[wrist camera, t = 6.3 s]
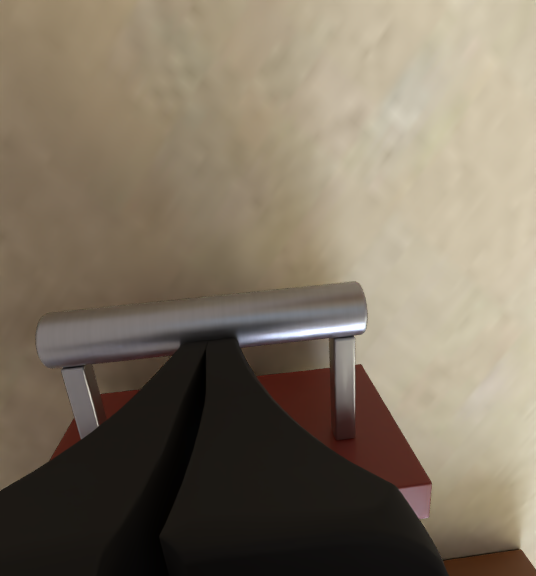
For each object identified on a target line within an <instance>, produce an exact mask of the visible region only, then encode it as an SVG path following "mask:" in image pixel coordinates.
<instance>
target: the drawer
mask: <svg viewBox="0 0 536 576" xmlns="http://www.w3.org/2000/svg"><path fill="white" fill-rule="evenodd" d="M367 320H368V313H367V303H366V298H365V295H364V292H363V289H362V287H361V285H360V284H359V283H358V282H344V283H335V284H325V285H315V286H305V287H296V288H286V289H276V290H266V291H257V292H247V293H237V294H228V295H218V296H208V297H198V298H189V299H179V300H169V301H159V302H150V303H140V304H130V305H120V306H111V307H101V308H91V309H81V310H72V311H62V312H52V313H47V314H45V315H44V316H42V317H41V319H40V320H39V322H38V325H37V329H36V338H35V340H36V349H37V353H38V356H39V358H40V360H41V362H42V363H43V365H45V366H46V367H48V368H52V369H53V368H62V367H63V368H62V370H61V373H62V377H63V380H64V383H65V387H66V390H67V394H68V397H69V400H70V404H71V407H72V411H73V414H74V419H73V421H72V422H71V424H70V426H69V427H68V429H67V431H66V433H65V434H64V436H63V438H62V440H61V441H60V443H59V445H58V447H57V448H56V450H55V452H54V454H53V455H52V457H51V459H50V460H52V459H53V458H55V457H56V456H58V455H59V454H61V453H62V452H64V451H65V450H66V449H68V448H69V447H71V446H72V445H74V444H75V443H77V442H78V441H80V440H81V439H83V438H84V437H85V436H87V435H88V434H89V433H91V432H92V431H93V430H95V429H96V428H97V427H98V426H100V425H101V424H102V423H104V422H105V421H106V420H107V419H109V418H110V417H111V416H112V415H113V414H115V413H116V412H117V411H118V410H119V409H120V408H122V407H123V406H124V405H125V404H126V403H127V402H128V401H129V400H130V399H131V398H132V397H133V396H134V395H135V394H136V393H137V392H138V391H139V390H131V391H123V392H114V393H105V394H100V392H99V388H98V384H97V380H96V376H95V372H94V369H93V365H92V364H98V363H107V362H117V361H126V360H135V359H144V358H153V357H162V356H171V355H173V354H174V353H175V352H176V351H177V350H178V349H179V348H180V346H181V345H182V344H183V343H188V342H199V341H208V340H217V339H225V338H235V339H237V340H238V341H239V345H240V348H243V347H252V346H261V345H270V344H280V343H289V342H298V341H307V340H316V339H325V338H329V358H330V368H323V369H314V370H306V371H297V372H288V373H279V374H271V375H262V376H256V377H257V378H258V380H259V381H260V382H261V384H262V385H263V386H264V388H265V389H266V390H267V391H268V393H269V394H270V395H271V396H272V398H273V399H274V400H275V401H276V402H277V403H278V404H279V405H280V406H281V407H282V408H283V409H284V410H285V411H286V412H287V413H288V415H290V416H291V417H292V418H293V419H294V420H295V421H296V422H297V423H298V424H299V425H300V426H302V427H303V428H304V429H305V430H306V431H308V432H309V433H310V434H312V435H313V436H314V437H316V438H317V439H318V440H319V441H321V442H322V443H323V444H325V445H326V446H327V447H329V448H330V449H331V450H333V451H335V452H336V453H338V454H339V455H341V456H342V457H344V458H345V459H347V460H349V461H350V462H352V463H354V464H356V465H358V466H360V467H362V468H364V469H365V470H367V471H369V472H371V473H373V474H375V475H377V476H379V477H381V478H382V479H384V480H386V481H388V482H390V483H392V484H394V485H395V486H396V487H397V488H398V489H399V490H400V492H401V493H402V494H403V496H404V497H405V499H406V500H407V502H408V503H409V505H410V506H411V508H412V509H413V510H414V512H415V513H416V515H417V517H418V518H419V519H423V518H428V517H429V513H430V501H431V489H432V482H431V481H430V479H429V477H428V476H427V474H426V472H425V471H424V469H423V467H422V466H421V464H420V462H419V460H418V459H417V457H416V455H415V454H414V452H413V450H412V449H411V447H410V445H409V444H408V442H407V440H406V439H405V437H404V435H403V434H402V432H401V430H400V429H399V427H398V425H397V424H396V422H395V420H394V419H393V417H392V415H391V413H390V412H389V410H388V408H387V407H386V405H385V403H384V402H383V400H382V398H381V397H380V395H379V393H378V392H377V390H376V388H375V387H374V385H373V383H372V382H371V380H370V378H369V377H368V375H367V373H366V372H365V370H364V368H363V367H362V365H361V364H358V365H355V337H354V335H361V334H363V333H364V332H365V331H366V327H367ZM140 390H141V389H140Z"/></svg>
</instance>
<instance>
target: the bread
mask: <svg viewBox="0 0 536 576" xmlns="http://www.w3.org/2000/svg"><path fill="white" fill-rule="evenodd" d="M443 562H444V565H445V568H446V570H447V572H448V574H449V576H536V569H535V568H534V566H533V565H532V564H531V562H530V561H529V559H528V558H527V557H526V555H525V554H524V553H523V551H522V550H521V549H520V550H513V551H506V552H499V553H492V554H485V555H478V556H471V557H464V558H458V559H451V560H444V561H443Z"/></svg>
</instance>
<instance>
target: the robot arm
mask: <svg viewBox="0 0 536 576" xmlns="http://www.w3.org/2000/svg"><path fill="white" fill-rule="evenodd" d="M0 576H449V574H448V572H447V570H446V568H445V565H444V562H443V560H442V558H441V556H440V554H439V552H438V550H437V548H436V546H435V544H434V543H433V541H432V539H431V537H430V536H429V534H428V532H427V531H426V529H425V528H424V526H423V524H422V523H421V521H420V520H419V518H418V517H417V515H416V513H415V512H414V510H413V509H412V508H411V506H410V505H409V503H408V502H407V500H406V499H405V497H404V496H403V494H402V493H401V492H400V490H399V489H398V488H397V487H396V486H395V485H394V484H392V483H390V482H388V481H386V480H384V479H382V478H381V477H379V476H377V475H375V474H373V473H371V472H369V471H367V470H365V469H364V468H362V467H360V466H358V465H356V464H354V463H352V462H350V461H349V460H347V459H345V458H344V457H342V456H341V455H339V454H338V453H336V452H335V451H333V450H331V449H330V448H329V447H327V446H326V445H325V444H323V443H322V442H321V441H319V440H318V439H317V438H316V437H314V436H313V435H312V434H310V433H309V432H308V431H306V430H305V429H304V428H303V427H302V426H300V425H299V424H298V423H297V422H296V421H295V420H294V419H293V418H292V417H291V416H290V415H288V413H287V412H286V411H285V410H284V409H283V408H282V407H281V406H280V405H279V404H278V403H277V402H276V401H275V400H274V399H273V398H272V396H271V395H270V394H269V393H268V391H267V390H266V389H265V388H264V386H263V385H262V384H261V382H260V381H259V380H258V378H257V377H256V375H255V374H254V372H253V371H252V369H251V367H250V366H249V364H248V363H247V361H246V359H245V357H244V355H243V353H242V351H241V348H240V345H239V341H238V340H237V339H235V338H225V339H217V340H208V341H199V342H188V343H183V344H182V345H181V346H180V348H179V349H178V350H177V351H176V352H175V353H174V354H173V356H172V357H171V358H170V359H169V360H168V361H167V362H166V363H165V365H164V366H163V367H162V368H161V369H160V370H159V371H158V372H157V373H156V374H155V376H154V377H153V378H152V379H151V380H150V381H149V382H148V383H147V384H146V385H145V386H144V387H143V388H142V389H141V390H139V391H138V392H137V393H136V394H135V395H134V396H133V397H132V398H131V399H130V400H129V401H128V402H127V403H126V404H125V405H124V406H123V407H122V408H120V409H119V410H118V411H117V412H116V413H115V414H113V415H112V416H111V417H110V418H109V419H107V420H106V421H105V422H104V423H102V424H101V425H100V426H98V427H97V428H96V429H95V430H93V431H92V432H91V433H89V434H88V435H87V436H85V437H84V438H83V439H81V440H80V441H78V442H77V443H75V444H74V445H72V446H71V447H69V448H68V449H66V450H65V451H64V452H62V453H61V454H59V455H58V456H56V457H55V458H53V459H52V460H50V461H49V462H47V463H46V464H44V465H43V466H41V467H40V468H38V469H36V470H35V471H33V472H31V473H30V474H28V475H26V476H25V477H23V478H21V479H20V480H18V481H16V482H15V483H13V484H11V485H9V486H8V487H6V488H4V489H2V490H1V491H0Z"/></svg>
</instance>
